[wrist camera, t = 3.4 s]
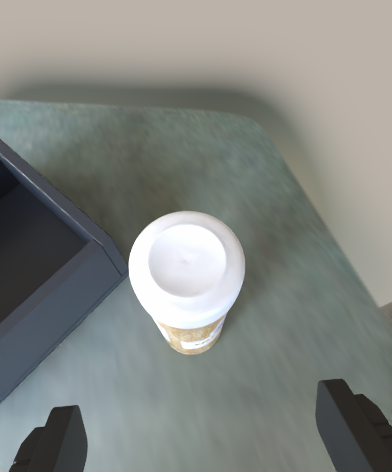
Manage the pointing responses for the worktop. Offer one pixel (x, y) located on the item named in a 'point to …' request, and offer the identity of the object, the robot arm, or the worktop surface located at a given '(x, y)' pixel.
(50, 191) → the open box
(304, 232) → the worktop surface
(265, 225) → the worktop surface
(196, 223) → the sprinkles bottle
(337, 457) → the robot arm
